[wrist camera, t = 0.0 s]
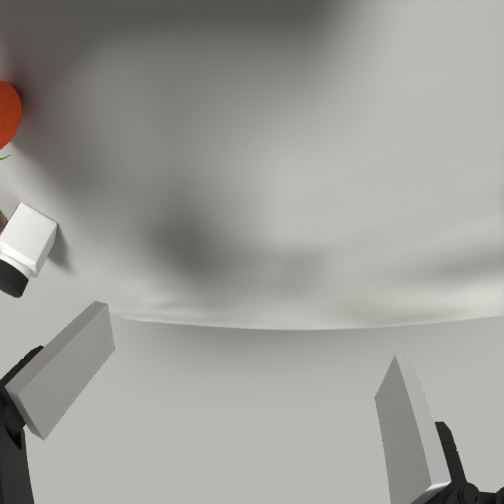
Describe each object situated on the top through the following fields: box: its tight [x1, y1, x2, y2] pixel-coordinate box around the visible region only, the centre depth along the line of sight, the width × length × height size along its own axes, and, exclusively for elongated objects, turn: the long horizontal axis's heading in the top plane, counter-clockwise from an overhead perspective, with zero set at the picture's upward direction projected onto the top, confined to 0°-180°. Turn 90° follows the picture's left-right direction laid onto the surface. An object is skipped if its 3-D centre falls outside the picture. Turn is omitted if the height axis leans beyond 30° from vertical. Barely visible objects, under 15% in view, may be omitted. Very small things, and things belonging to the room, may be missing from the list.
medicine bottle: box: [0, 202, 57, 298], centre depth 35 cm, size 7×7×12 cm
